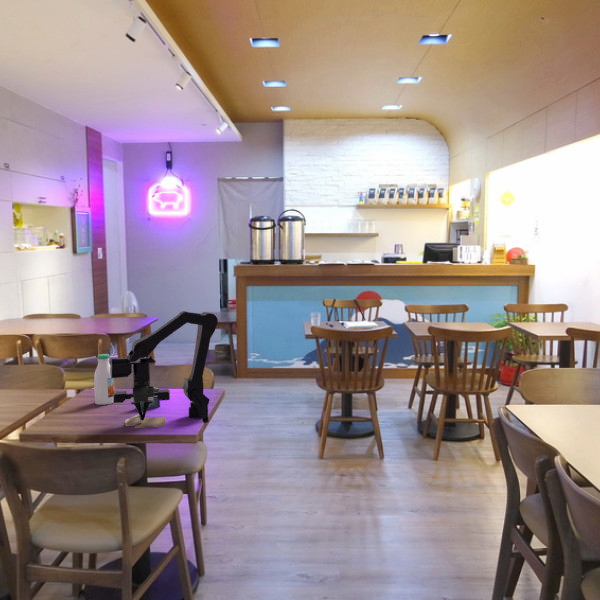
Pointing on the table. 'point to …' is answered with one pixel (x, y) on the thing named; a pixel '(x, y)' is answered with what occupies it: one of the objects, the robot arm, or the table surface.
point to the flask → (155, 402)
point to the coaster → (133, 420)
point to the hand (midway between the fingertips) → (142, 420)
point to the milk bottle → (103, 381)
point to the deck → (151, 422)
